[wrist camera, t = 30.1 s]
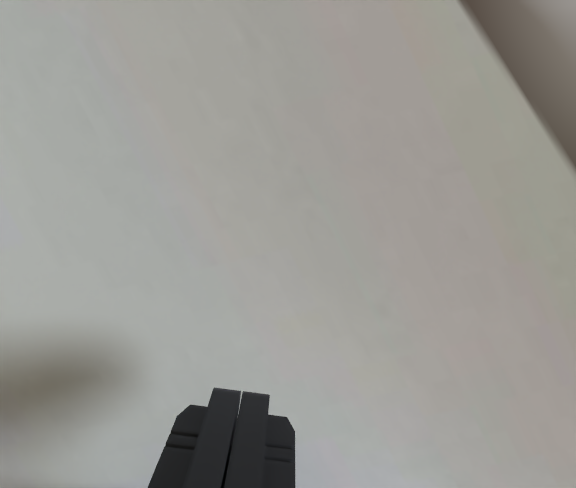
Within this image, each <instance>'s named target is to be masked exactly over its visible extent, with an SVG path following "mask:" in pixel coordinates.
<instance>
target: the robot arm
mask: <svg viewBox="0 0 576 488" xmlns="http://www.w3.org/2000/svg"><path fill="white" fill-rule="evenodd" d="M240 395H241V391H236V390H228V389H221V388H214V389H213V391H212V395H211V398H210V401H209V404H208V407H204V406H197V405H189V406H188V407H187V408H186V409H185V410H184V411H183V412H181V413H180V414H179V415H178V416H177V418H176V420H175V423H174V425H173V428H172V430H171V434H170V435H169V437H168V440H167V442H166V446H165V447H164V449H163V452H162V454H161V457H160V459H159V461H158V464H157V466H156V469H155V471H154V474H153V476H152V478H151V481H150V483H149V486H148V488H295V431H294V429H293V427H292V425H291V424H290V422H289V420H288V418H287V417H281V416H274V415H268V408H269V396H270V395H267V394H259V393H252V392H244V391H243V394H242V399H241V404H240V409H239V403H240ZM238 411H239V414H238ZM237 418H238V419H237Z"/></svg>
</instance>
